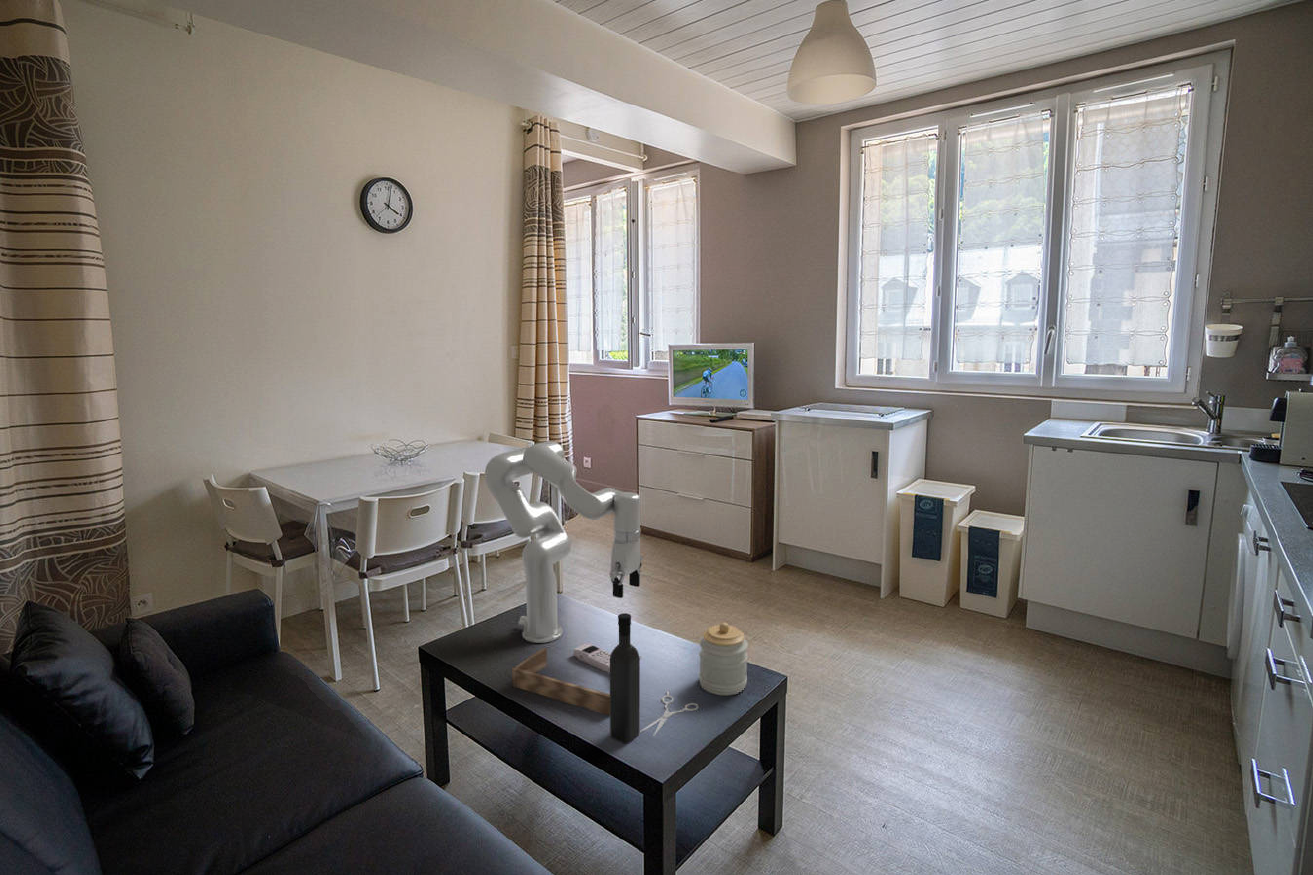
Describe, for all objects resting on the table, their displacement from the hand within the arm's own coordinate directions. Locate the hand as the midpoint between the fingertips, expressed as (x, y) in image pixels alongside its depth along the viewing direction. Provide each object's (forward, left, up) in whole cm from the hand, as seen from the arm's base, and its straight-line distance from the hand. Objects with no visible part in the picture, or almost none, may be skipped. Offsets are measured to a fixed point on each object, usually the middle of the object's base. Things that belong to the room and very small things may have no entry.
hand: (626, 591), depth 197 cm
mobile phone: (-2, -9, -20) cm, 22 cm away
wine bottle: (+20, -36, -20) cm, 46 cm away
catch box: (-3, -23, -20) cm, 31 cm away
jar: (+32, -3, -20) cm, 38 cm away
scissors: (+25, -24, -20) cm, 40 cm away
